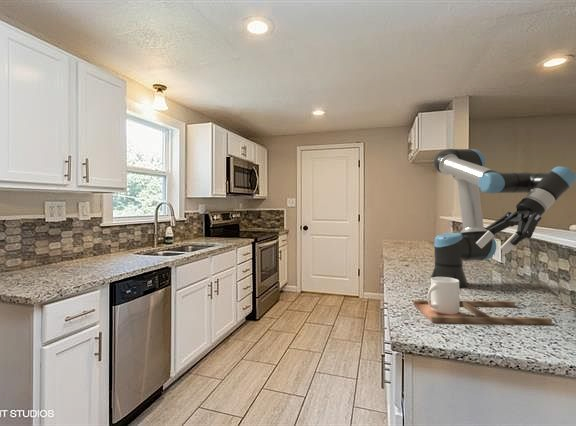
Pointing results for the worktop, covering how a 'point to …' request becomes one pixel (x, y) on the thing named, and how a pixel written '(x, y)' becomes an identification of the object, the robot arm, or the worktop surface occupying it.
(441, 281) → the mug
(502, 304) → the flat wooden frame
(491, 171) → the robot arm
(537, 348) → the worktop surface
